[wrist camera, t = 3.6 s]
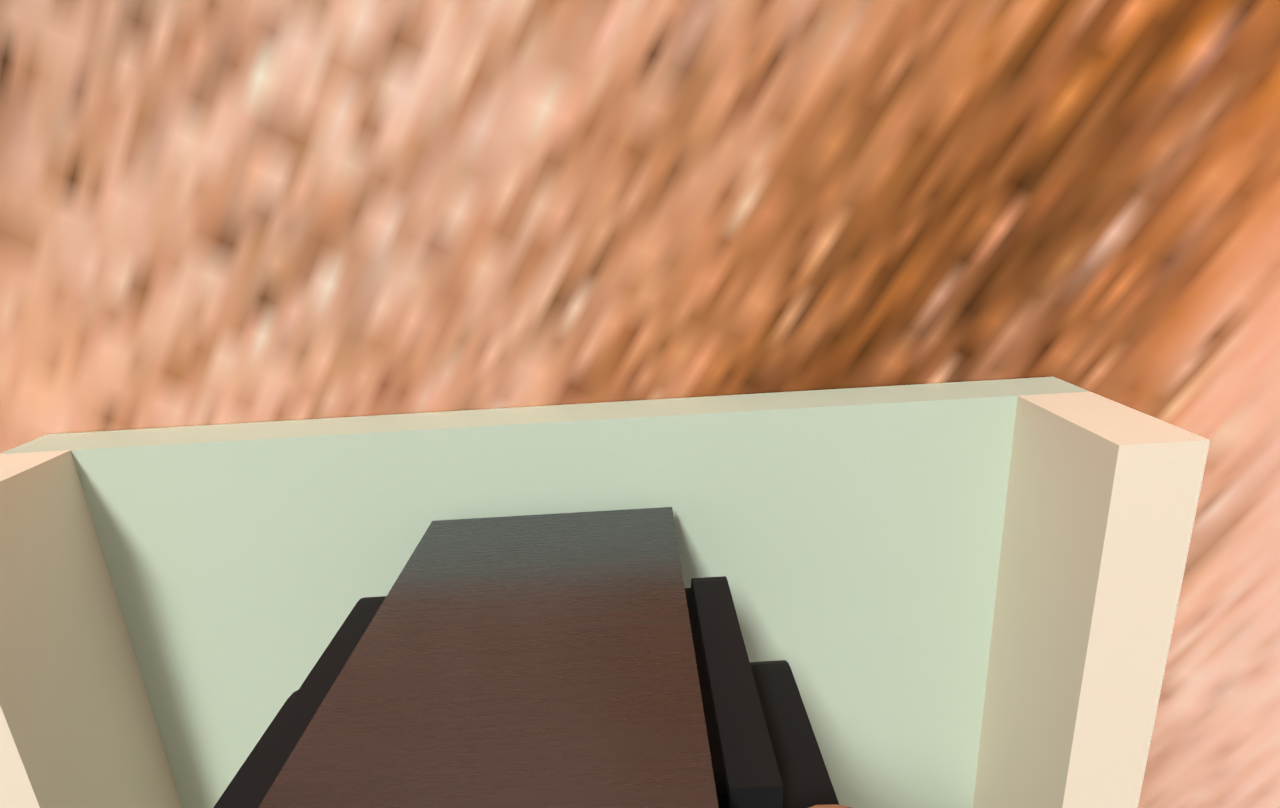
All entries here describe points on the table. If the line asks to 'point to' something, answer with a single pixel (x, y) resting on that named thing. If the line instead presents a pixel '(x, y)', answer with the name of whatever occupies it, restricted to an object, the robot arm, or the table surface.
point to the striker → (518, 676)
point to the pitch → (708, 547)
